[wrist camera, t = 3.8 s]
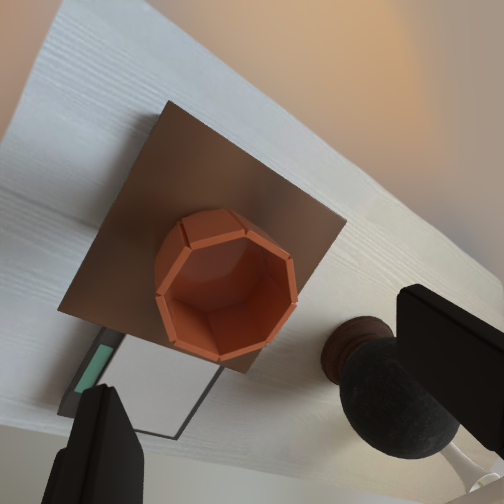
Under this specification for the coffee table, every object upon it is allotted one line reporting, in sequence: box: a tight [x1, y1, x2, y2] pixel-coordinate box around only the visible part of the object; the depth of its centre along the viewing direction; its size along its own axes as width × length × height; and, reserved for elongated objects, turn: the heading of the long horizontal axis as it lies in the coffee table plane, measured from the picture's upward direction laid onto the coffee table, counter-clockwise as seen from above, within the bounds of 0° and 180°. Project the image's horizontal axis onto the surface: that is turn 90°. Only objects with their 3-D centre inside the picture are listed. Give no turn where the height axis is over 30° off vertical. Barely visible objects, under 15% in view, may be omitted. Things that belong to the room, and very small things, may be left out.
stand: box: [57, 100, 347, 374], centre depth 26 cm, size 12×12×16 cm
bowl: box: [154, 208, 298, 361], centre depth 16 cm, size 6×6×4 cm
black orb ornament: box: [321, 316, 460, 459], centre depth 40 cm, size 13×13×15 cm
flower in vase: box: [439, 441, 500, 494], centre depth 43 cm, size 13×11×25 cm
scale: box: [57, 326, 225, 440], centre depth 37 cm, size 14×13×3 cm
